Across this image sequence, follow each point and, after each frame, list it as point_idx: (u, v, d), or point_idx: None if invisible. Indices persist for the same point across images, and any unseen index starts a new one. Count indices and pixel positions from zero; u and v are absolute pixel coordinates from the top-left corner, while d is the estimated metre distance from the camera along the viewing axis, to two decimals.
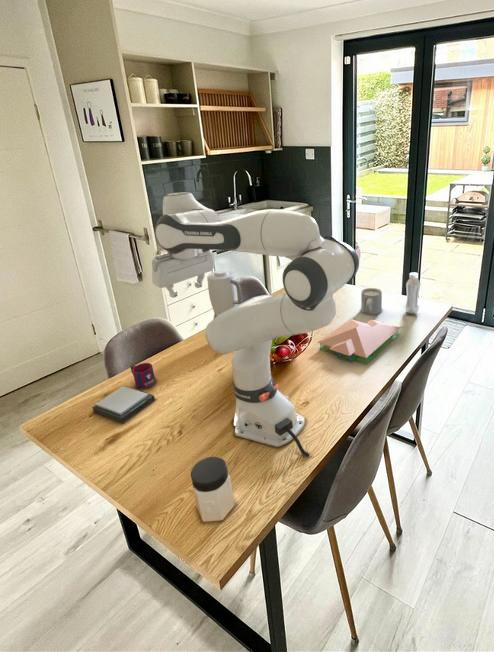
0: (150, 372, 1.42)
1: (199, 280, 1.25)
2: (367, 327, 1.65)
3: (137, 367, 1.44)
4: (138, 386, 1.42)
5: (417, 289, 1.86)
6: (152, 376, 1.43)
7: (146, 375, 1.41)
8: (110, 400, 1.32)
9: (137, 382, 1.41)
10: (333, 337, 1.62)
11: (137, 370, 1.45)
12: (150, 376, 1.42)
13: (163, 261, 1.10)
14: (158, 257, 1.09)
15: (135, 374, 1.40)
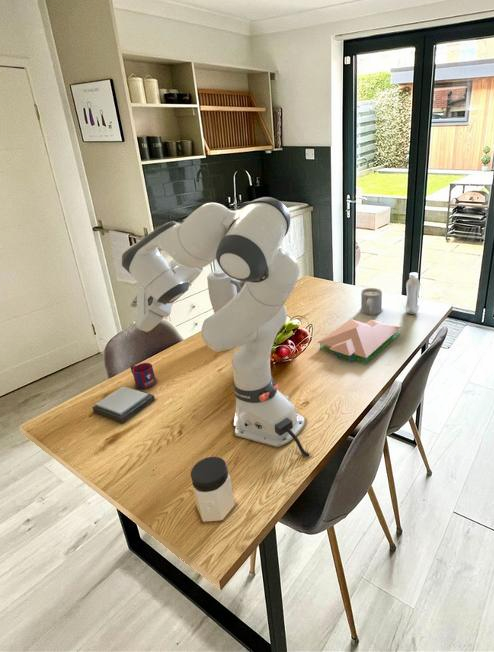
0: (150, 372, 1.42)
1: None
2: (367, 327, 1.65)
3: (137, 367, 1.44)
4: (138, 386, 1.42)
5: (417, 289, 1.86)
6: (152, 376, 1.43)
7: (146, 375, 1.41)
8: (110, 400, 1.32)
9: (137, 382, 1.41)
10: (333, 337, 1.62)
11: (137, 370, 1.45)
12: (150, 376, 1.42)
13: None
14: None
15: (135, 374, 1.40)
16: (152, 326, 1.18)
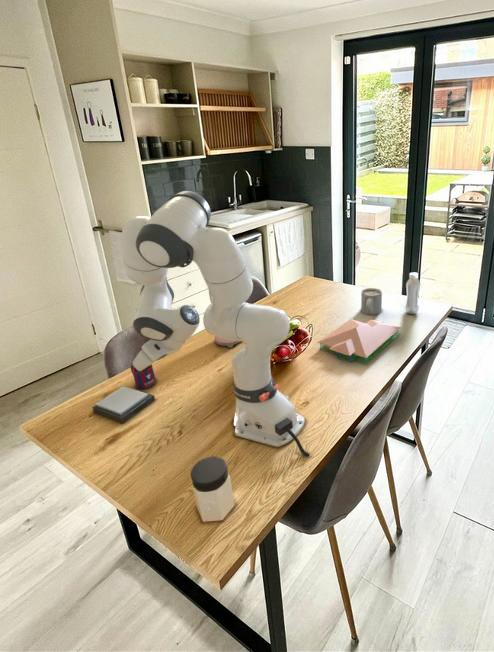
0: (150, 372, 1.42)
1: None
2: (367, 327, 1.65)
3: None
4: (138, 386, 1.42)
5: (417, 289, 1.86)
6: (152, 376, 1.43)
7: (146, 375, 1.41)
8: (110, 400, 1.32)
9: (137, 382, 1.41)
10: (333, 337, 1.62)
11: (137, 370, 1.45)
12: (150, 376, 1.42)
13: None
14: None
15: (135, 374, 1.40)
16: (141, 366, 1.24)
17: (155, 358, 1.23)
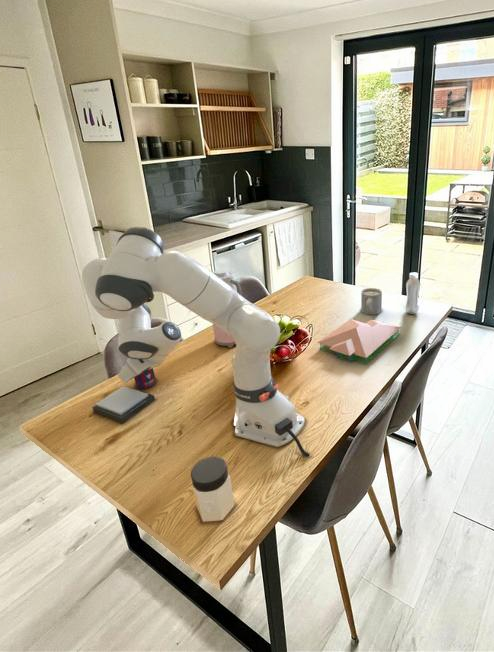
0: (150, 372, 1.42)
1: None
2: (367, 327, 1.65)
3: None
4: (138, 386, 1.42)
5: (417, 289, 1.86)
6: (152, 376, 1.43)
7: (146, 374, 1.41)
8: (110, 400, 1.32)
9: (137, 382, 1.42)
10: (333, 337, 1.62)
11: None
12: (150, 376, 1.42)
13: None
14: None
15: None
16: (126, 378, 1.32)
17: (139, 371, 1.30)
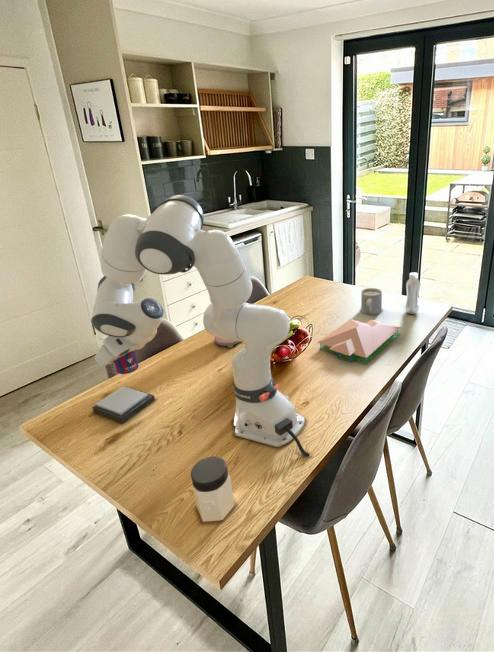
0: (132, 356, 1.29)
1: None
2: (367, 327, 1.66)
3: None
4: (118, 371, 1.29)
5: (417, 289, 1.86)
6: (134, 361, 1.31)
7: (127, 358, 1.28)
8: (110, 400, 1.32)
9: (117, 367, 1.29)
10: (333, 337, 1.62)
11: None
12: (132, 360, 1.30)
13: None
14: None
15: None
16: (103, 362, 1.19)
17: (116, 353, 1.17)
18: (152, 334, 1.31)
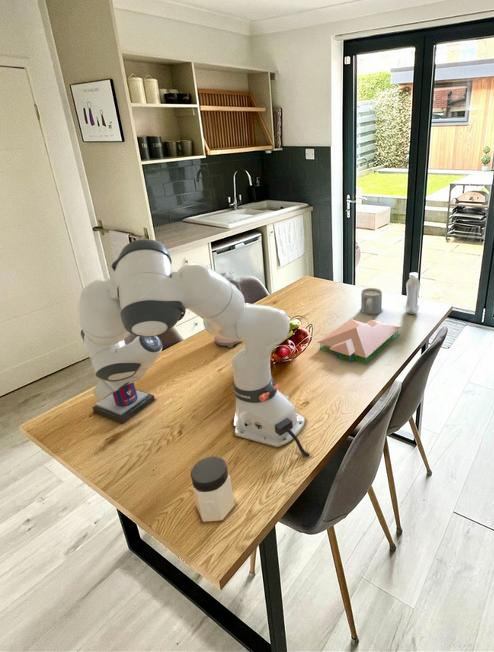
0: (131, 388, 1.29)
1: None
2: (367, 327, 1.66)
3: None
4: (117, 403, 1.28)
5: (417, 289, 1.86)
6: (133, 393, 1.30)
7: (126, 391, 1.27)
8: (110, 400, 1.32)
9: (116, 399, 1.28)
10: (333, 337, 1.62)
11: None
12: (131, 392, 1.29)
13: None
14: None
15: None
16: (102, 396, 1.18)
17: (115, 387, 1.16)
18: None
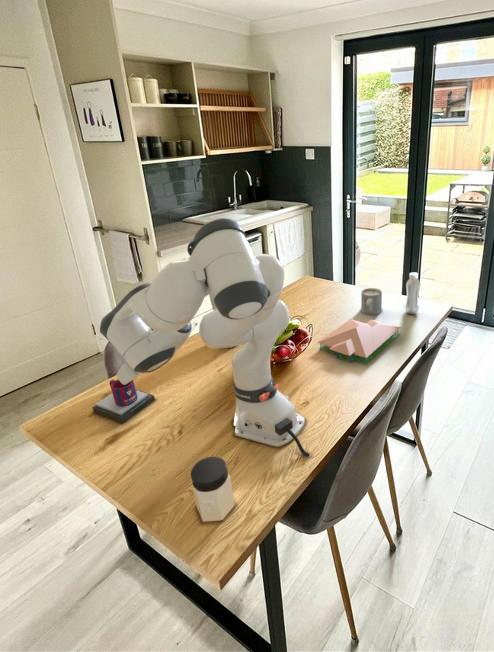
0: (131, 388, 1.29)
1: None
2: (367, 327, 1.66)
3: (116, 382, 1.31)
4: (117, 403, 1.28)
5: (417, 289, 1.86)
6: (133, 393, 1.30)
7: (126, 391, 1.27)
8: (110, 400, 1.32)
9: (116, 399, 1.28)
10: (333, 337, 1.62)
11: (117, 386, 1.31)
12: (131, 392, 1.29)
13: None
14: None
15: (114, 390, 1.26)
16: (126, 379, 1.10)
17: None
18: None
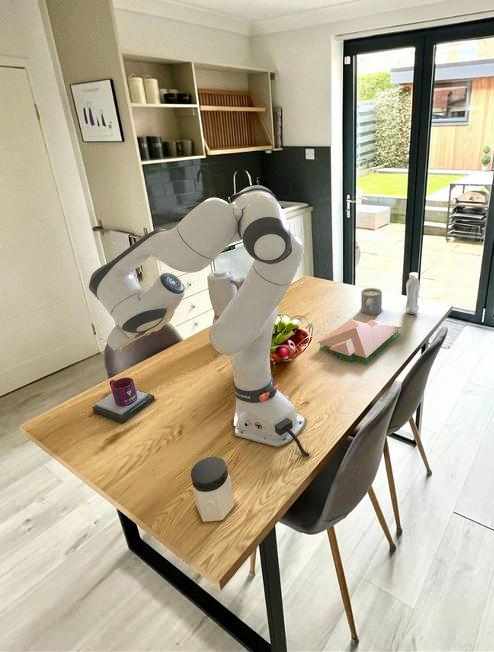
0: (131, 388, 1.29)
1: None
2: (367, 327, 1.66)
3: (116, 382, 1.31)
4: (117, 403, 1.28)
5: (417, 289, 1.86)
6: (133, 393, 1.30)
7: (126, 391, 1.27)
8: (110, 400, 1.32)
9: (116, 399, 1.28)
10: (333, 337, 1.62)
11: (117, 386, 1.31)
12: (131, 392, 1.29)
13: None
14: None
15: (114, 390, 1.26)
16: (116, 344, 1.05)
17: (132, 334, 1.03)
18: None
